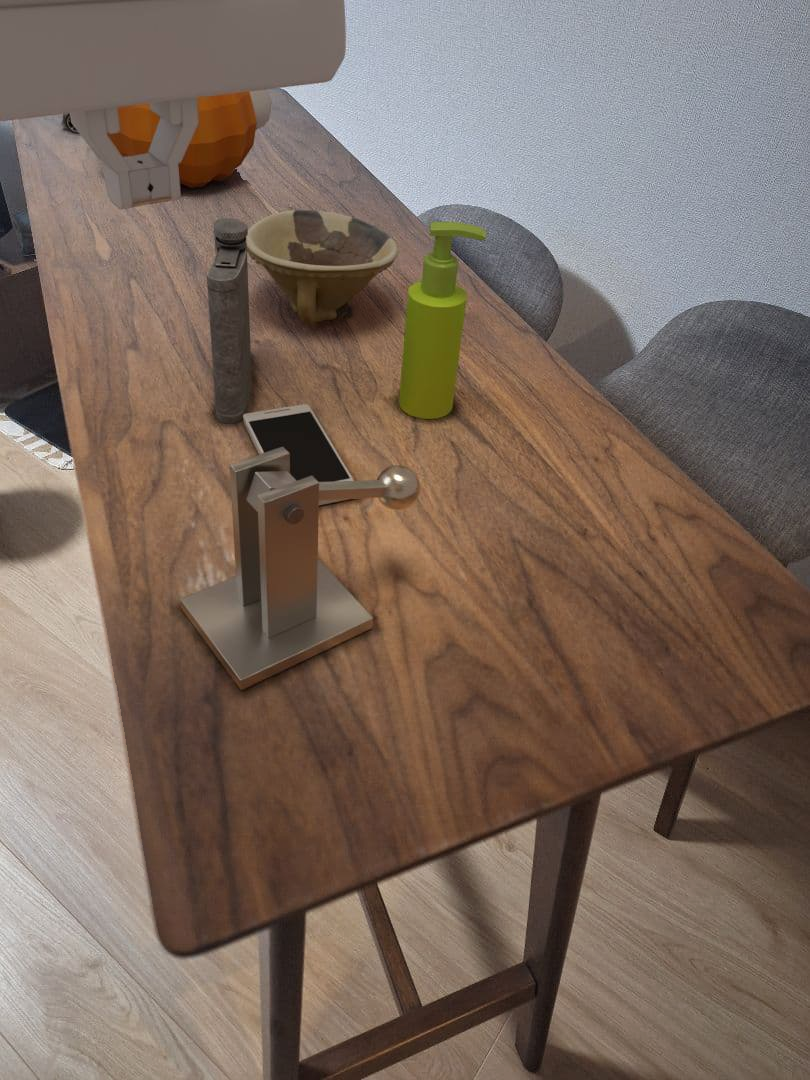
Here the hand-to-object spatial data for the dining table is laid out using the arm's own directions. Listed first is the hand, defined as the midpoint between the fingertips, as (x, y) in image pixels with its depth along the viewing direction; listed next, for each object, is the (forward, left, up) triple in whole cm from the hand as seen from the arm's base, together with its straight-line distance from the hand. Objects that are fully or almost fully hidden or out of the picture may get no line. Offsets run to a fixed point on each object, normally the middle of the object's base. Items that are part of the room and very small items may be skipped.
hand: (144, 200), depth 43 cm
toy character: (+23, +127, -37) cm, 134 cm away
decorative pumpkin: (+10, +105, -37) cm, 112 cm away
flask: (+9, +42, -37) cm, 57 cm away
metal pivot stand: (+7, +7, -37) cm, 38 cm away
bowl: (+22, +58, -37) cm, 72 cm away
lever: (+12, +9, -28) cm, 32 cm away
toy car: (+1, +125, -37) cm, 130 cm away
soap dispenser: (+29, +35, -37) cm, 59 cm away
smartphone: (+13, +28, -37) cm, 48 cm away
